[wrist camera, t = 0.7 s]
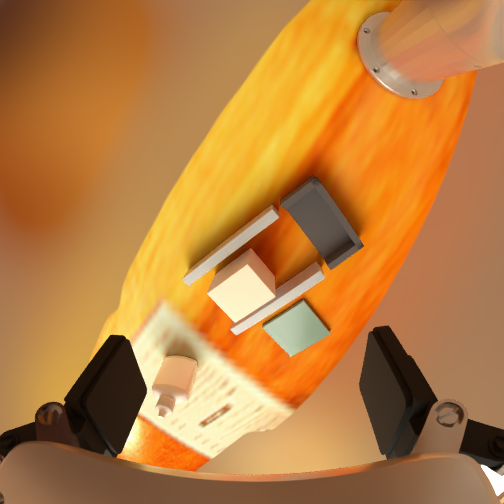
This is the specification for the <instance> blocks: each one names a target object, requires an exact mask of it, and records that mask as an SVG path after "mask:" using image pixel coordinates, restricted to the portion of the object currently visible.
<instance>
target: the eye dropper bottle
mask: <svg viewBox="0 0 504 504" xmlns="http://www.w3.org/2000/svg"><path fill="white" fill-rule="evenodd" d="M197 371H198V366H197V362H196V361H195V360H193V359H191V358H188V357H185V356H178V355H174V356H168V357H166V358H165V359H164V361H163V363H162V365H161V368H160V370H159V372H158V374H157V376H156V379H155V381H154V383H153V386H152V392H153V394H154V396H155V397H156V398H157V399H159V400H158V402H157V405H156V410H157V411H158V412H159V418H160V419H163V418H164V417H165V415H171V414H172V412H173V409H174V406H175V404H180V403H184V402H186V401H188V399H189V396H190V393H191V390H192V387H193V384H194V380H195V377H196V374H197Z"/></svg>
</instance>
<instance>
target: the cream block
mask: <svg viewBox="0 0 504 504" xmlns="http://www.w3.org/2000/svg"><path fill="white" fill-rule="evenodd" d="M207 294H208V295H209V296H210V297H211V298H212V299H213V300H214V301H215V302H216V304H217V305H218V306H219V307H220V308H221V309H222V310H223V311H224V312H225V313H226V314H227V315H228V316H229V317H230V318H231V319H232V320H233V321H234V322H235V323H236V322H238V321H239V320H241V319H242V318H244V317H245V316H247V315H248V314H250V313H252V312H253V311H255V310H256V309H258V308H259V307H261V306H262V305H264V304H265V303H267V302H268V301H270V300H271V299H273V298H274V297H276V292H275V276H274V275H273V273H272V272H271V271H270V270H269V269H268V267H267V266H266V265H265V264H264V263H263V261H262V260H261V259H260V258H259V257H258V256H257V254H256V253H255V252H254V251H253V250H252V248H250V249H248V250H247V251H246V252H244V253H243V254H242V255H240V256H239V257H238V258H236V259H235V260H233V261H232V262H231V263H229V264H228V265H227V266H225V267H224V268H223V269H221V270H220V271H219V272H217V273H216V274H215V276H214V278H213V281H212V283H211V285H210V288H209V290H208V293H207Z"/></svg>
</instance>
